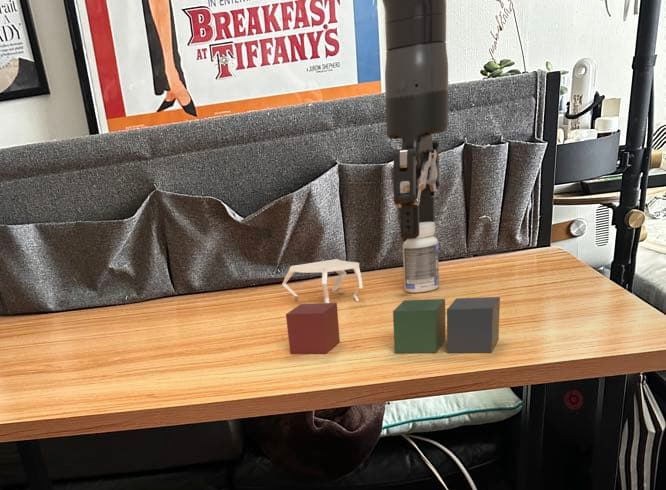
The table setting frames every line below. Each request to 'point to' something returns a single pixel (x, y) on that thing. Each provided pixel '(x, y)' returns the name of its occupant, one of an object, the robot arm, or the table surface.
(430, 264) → the pill bottle
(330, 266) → the white legged frame
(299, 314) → the maroon block
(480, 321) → the slate block
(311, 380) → the table surface
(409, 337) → the green block
